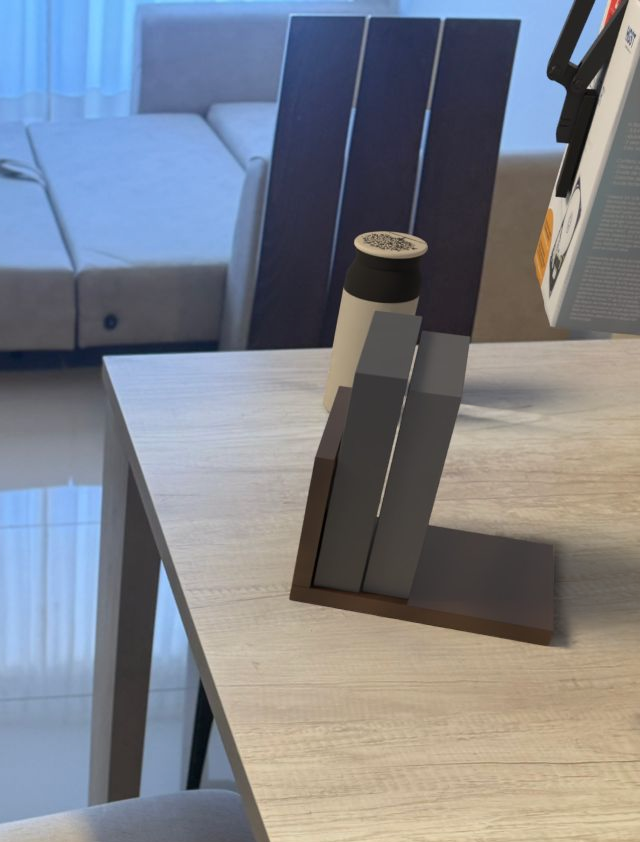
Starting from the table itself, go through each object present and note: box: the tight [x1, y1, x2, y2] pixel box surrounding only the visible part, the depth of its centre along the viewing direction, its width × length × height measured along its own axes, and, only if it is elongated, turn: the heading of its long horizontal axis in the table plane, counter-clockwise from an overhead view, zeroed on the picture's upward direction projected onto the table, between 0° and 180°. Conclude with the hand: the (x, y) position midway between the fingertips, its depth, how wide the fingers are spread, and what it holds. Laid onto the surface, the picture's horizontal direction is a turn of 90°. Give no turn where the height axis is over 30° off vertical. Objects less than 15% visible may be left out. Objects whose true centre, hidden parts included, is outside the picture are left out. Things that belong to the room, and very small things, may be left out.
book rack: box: [288, 386, 555, 647], centre depth 101 cm, size 22×15×14 cm
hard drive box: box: [533, 0, 640, 337], centre depth 83 cm, size 16×8×20 cm, turn 167°
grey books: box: [313, 311, 471, 599], centre depth 99 cm, size 8×14×19 cm, turn 162°
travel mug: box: [322, 231, 429, 413], centre depth 126 cm, size 8×8×18 cm
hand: (621, 198), depth 85 cm, fingers closed on hard drive box, 8 cm apart
